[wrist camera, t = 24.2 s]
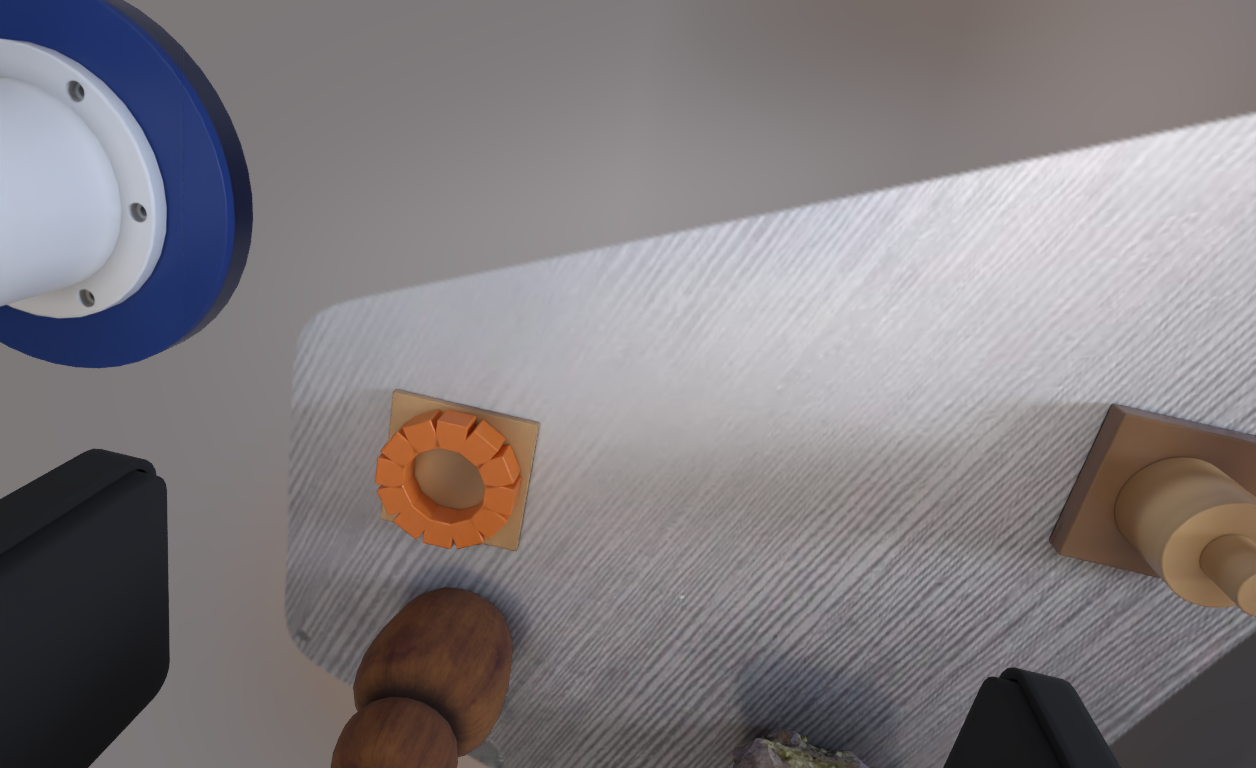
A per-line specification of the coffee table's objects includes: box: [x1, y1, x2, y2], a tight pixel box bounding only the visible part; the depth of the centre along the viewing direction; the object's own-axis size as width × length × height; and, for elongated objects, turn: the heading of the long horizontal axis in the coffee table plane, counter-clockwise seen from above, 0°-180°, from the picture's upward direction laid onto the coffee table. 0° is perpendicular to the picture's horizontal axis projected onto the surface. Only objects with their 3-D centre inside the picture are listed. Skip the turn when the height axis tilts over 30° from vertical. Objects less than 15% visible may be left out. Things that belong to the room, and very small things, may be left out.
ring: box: [375, 409, 522, 549], centre depth 37 cm, size 7×7×1 cm
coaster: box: [381, 390, 539, 551], centre depth 38 cm, size 7×7×1 cm
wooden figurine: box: [331, 587, 513, 768], centre depth 34 cm, size 7×6×15 cm
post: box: [1050, 404, 1256, 617], centre depth 31 cm, size 7×7×8 cm
